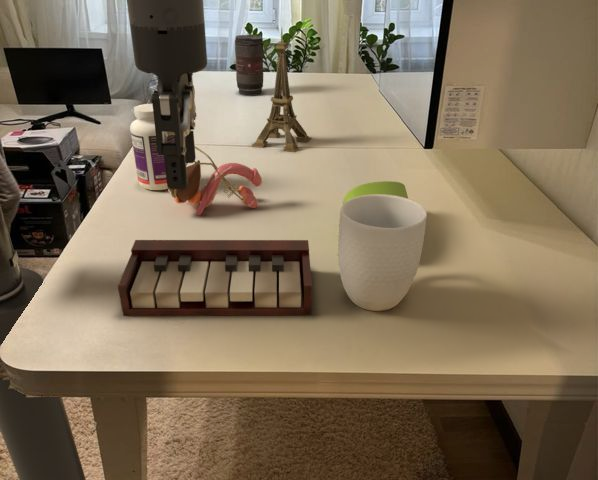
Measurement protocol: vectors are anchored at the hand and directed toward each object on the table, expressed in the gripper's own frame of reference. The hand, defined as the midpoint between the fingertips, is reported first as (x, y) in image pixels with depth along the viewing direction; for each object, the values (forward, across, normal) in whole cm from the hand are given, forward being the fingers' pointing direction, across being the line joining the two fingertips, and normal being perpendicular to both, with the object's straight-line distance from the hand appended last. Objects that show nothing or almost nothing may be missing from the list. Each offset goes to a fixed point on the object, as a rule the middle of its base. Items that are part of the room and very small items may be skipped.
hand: (182, 174), depth 70 cm
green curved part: (+18, -21, +28) cm, 40 cm away
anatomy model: (+18, -33, 0) cm, 38 cm away
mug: (+18, -2, +25) cm, 31 cm away
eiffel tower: (+18, -71, +13) cm, 75 cm away
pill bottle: (+18, -44, -12) cm, 49 cm away
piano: (+18, -3, +3) cm, 19 cm away
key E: (+16, -2, 0) cm, 16 cm away
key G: (+16, -2, +6) cm, 17 cm away
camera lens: (+18, -118, +4) cm, 120 cm away
